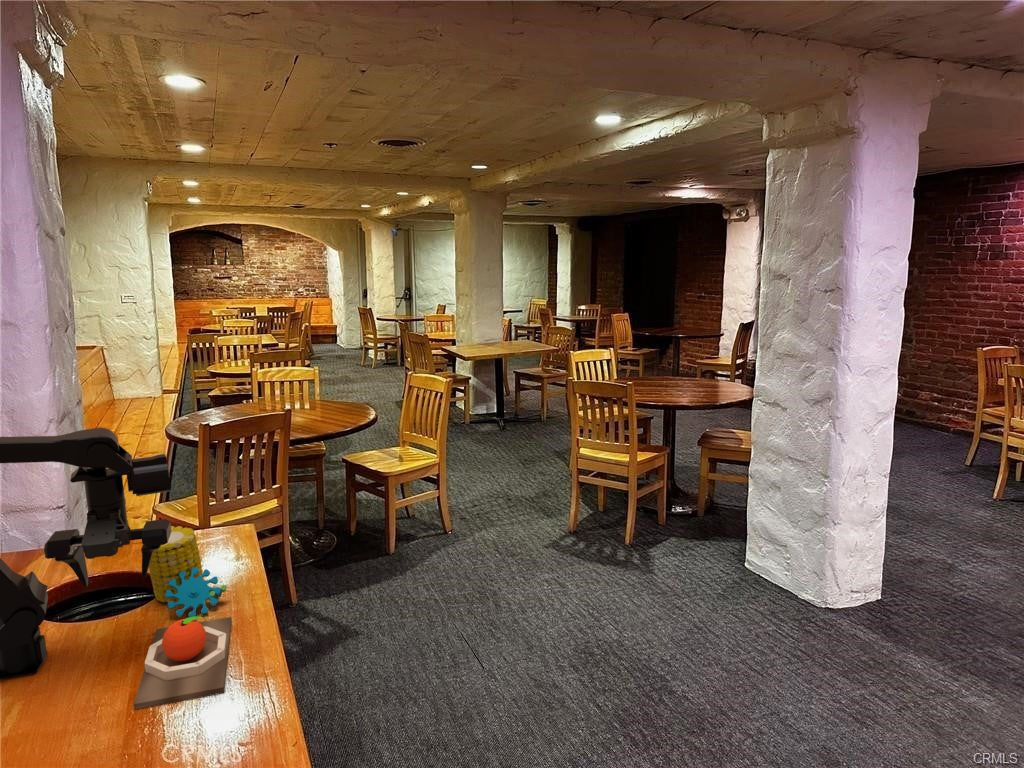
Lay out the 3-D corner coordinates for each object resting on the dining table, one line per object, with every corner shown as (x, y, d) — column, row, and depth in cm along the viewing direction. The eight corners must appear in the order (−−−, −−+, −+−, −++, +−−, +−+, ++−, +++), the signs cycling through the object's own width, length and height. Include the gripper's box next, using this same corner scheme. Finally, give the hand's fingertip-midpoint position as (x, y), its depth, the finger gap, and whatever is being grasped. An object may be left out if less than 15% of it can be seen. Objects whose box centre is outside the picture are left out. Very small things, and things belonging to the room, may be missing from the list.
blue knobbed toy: (162, 618, 127) (167, 567, 132) (162, 627, 131) (167, 577, 137) (225, 613, 132) (227, 564, 137) (223, 622, 136) (225, 574, 141)
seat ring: (141, 684, 109) (140, 676, 109) (154, 642, 120) (153, 634, 120) (223, 670, 113) (222, 661, 113) (228, 630, 125) (227, 622, 124)
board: (134, 709, 105) (133, 704, 105) (156, 633, 125) (156, 628, 125) (224, 692, 109) (223, 687, 109) (231, 621, 129) (231, 616, 129)
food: (213, 593, 142) (175, 619, 133) (170, 572, 146) (131, 597, 136) (218, 532, 138) (179, 555, 128) (174, 512, 141) (133, 533, 132)
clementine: (197, 638, 122) (194, 603, 120) (221, 651, 118) (218, 614, 117) (155, 661, 115) (151, 624, 114) (179, 675, 112) (175, 636, 110)
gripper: (27, 525, 106) (40, 614, 109) (158, 511, 112) (166, 595, 115) (49, 500, 116) (60, 581, 120) (167, 488, 123) (175, 566, 126)
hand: (115, 582), depth 120 cm, fingers open, 9 cm apart
